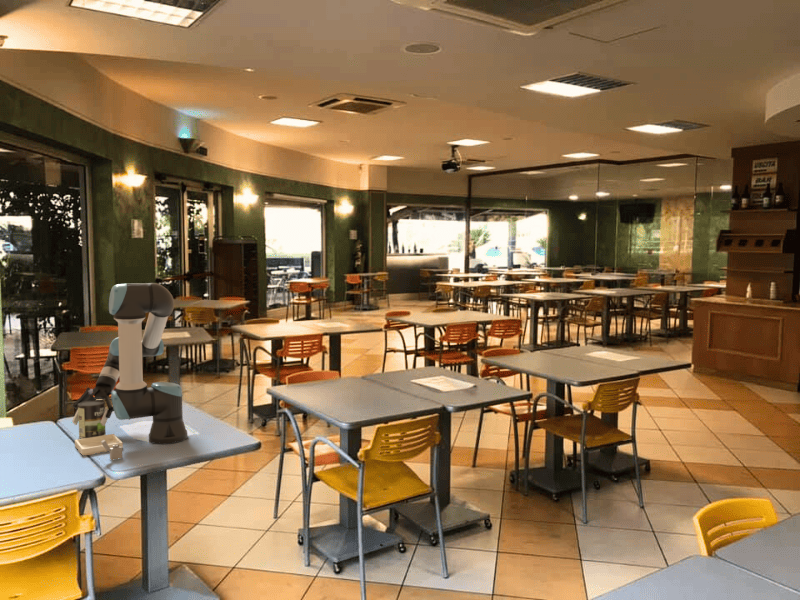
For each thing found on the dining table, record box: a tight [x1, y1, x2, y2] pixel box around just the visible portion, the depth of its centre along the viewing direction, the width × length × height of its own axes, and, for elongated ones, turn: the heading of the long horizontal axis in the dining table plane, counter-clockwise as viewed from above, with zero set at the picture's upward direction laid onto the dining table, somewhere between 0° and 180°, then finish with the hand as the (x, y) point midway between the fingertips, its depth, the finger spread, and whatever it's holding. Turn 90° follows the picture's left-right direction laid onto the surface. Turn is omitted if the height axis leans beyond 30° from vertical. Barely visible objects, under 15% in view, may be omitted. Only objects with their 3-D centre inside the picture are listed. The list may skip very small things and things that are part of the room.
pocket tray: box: [74, 433, 124, 456], centre depth 264 cm, size 15×15×3 cm
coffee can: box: [78, 399, 107, 439], centre depth 280 cm, size 10×10×14 cm
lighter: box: [101, 440, 123, 461], centre depth 250 cm, size 7×2×8 cm, turn 129°
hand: (88, 423), depth 277 cm, fingers open, 12 cm apart
